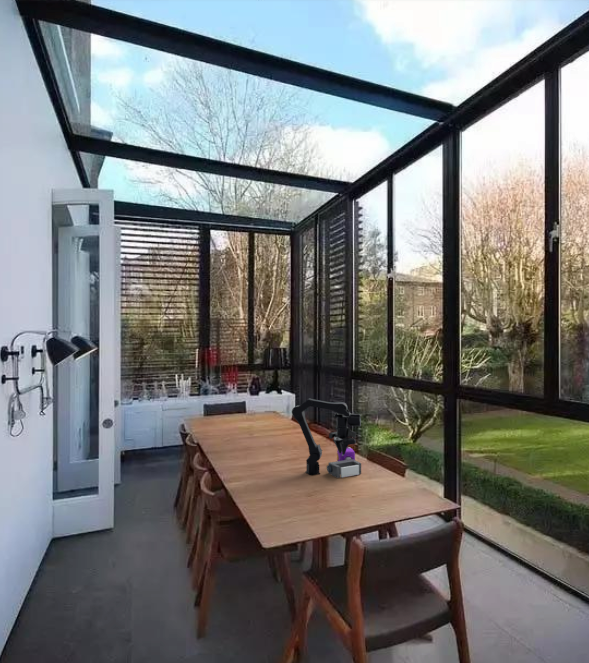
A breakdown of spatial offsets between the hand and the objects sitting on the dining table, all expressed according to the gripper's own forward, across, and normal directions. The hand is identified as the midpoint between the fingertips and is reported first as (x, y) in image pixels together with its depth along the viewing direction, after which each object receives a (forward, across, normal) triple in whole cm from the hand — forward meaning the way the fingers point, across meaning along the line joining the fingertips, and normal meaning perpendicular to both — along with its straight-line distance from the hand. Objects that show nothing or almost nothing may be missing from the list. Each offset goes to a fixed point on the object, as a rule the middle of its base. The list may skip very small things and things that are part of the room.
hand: (342, 453), depth 236 cm
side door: (+12, -3, -3) cm, 12 cm away
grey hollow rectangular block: (+12, +2, -3) cm, 13 cm away
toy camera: (+12, +14, -12) cm, 22 cm away
